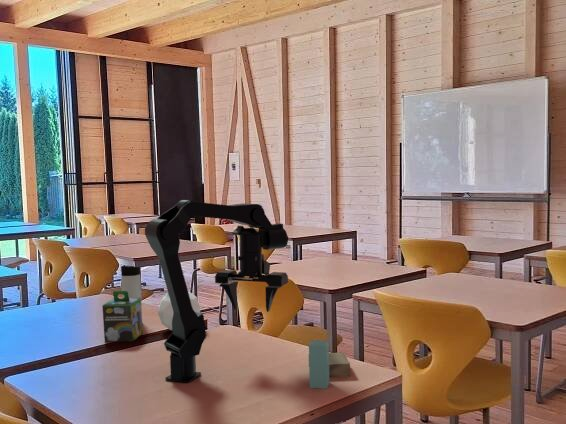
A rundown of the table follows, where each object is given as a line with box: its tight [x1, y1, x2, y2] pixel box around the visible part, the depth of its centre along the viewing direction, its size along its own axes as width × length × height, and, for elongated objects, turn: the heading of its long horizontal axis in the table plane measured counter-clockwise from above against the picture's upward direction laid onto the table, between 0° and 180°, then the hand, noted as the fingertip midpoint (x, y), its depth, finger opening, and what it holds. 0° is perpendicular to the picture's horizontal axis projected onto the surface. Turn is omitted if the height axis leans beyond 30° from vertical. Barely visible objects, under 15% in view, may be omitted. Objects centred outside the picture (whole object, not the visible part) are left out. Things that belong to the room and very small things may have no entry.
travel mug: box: [120, 265, 143, 314], centre depth 197 cm, size 6×7×20 cm
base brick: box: [329, 352, 351, 378], centre depth 146 cm, size 9×9×4 cm
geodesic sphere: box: [157, 290, 201, 332], centre depth 187 cm, size 14×14×14 cm
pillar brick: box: [308, 339, 330, 390], centre depth 136 cm, size 4×4×10 cm
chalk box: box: [102, 290, 144, 343], centre depth 180 cm, size 9×9×15 cm
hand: (251, 310), depth 155 cm, fingers open, 9 cm apart
